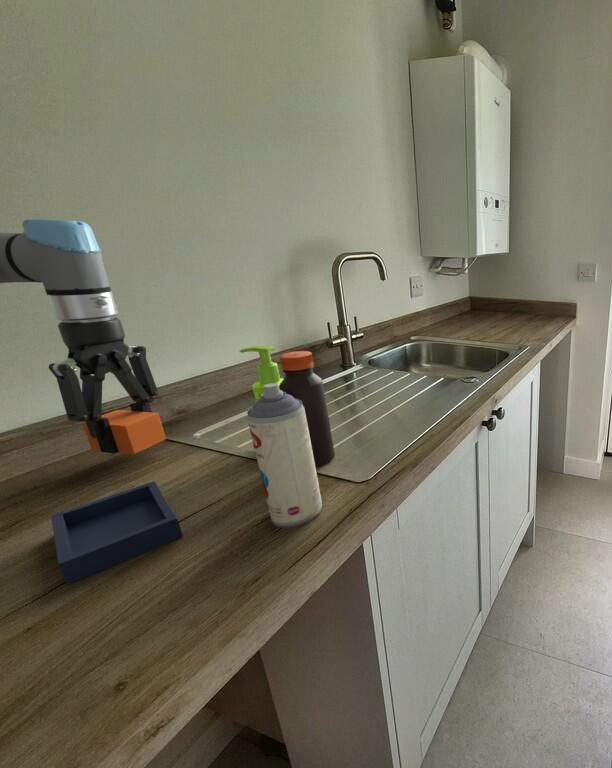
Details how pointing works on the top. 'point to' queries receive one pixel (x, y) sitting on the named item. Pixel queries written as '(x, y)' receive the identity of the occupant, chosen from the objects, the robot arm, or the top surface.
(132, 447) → the block
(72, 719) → the top surface
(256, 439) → the aerosol can
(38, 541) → the top surface
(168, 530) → the dark blue rectangular tray
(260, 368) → the soap dispenser
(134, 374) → the robot arm
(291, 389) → the bottle
